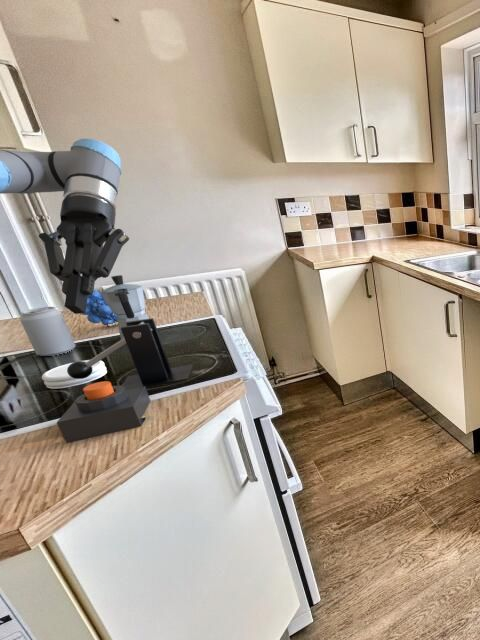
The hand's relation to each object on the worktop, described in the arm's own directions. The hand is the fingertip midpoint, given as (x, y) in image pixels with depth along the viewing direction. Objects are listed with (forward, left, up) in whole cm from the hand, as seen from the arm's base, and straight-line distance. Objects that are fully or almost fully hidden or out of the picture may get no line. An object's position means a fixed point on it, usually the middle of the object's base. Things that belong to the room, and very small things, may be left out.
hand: (75, 309), depth 75 cm
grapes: (-17, +69, -20) cm, 73 cm away
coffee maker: (-6, +50, -20) cm, 54 cm away
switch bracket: (+5, +10, -20) cm, 23 cm away
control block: (+1, -7, -20) cm, 21 cm away
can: (-23, +48, -20) cm, 57 cm away
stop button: (+1, -7, -15) cm, 16 cm away
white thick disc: (-11, +20, -20) cm, 31 cm away
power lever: (0, +10, -13) cm, 17 cm away
